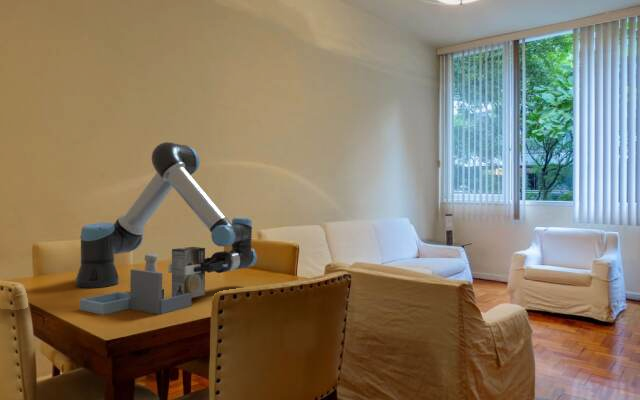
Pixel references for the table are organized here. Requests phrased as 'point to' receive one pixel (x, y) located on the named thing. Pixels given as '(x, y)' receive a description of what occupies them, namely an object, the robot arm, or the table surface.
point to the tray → (106, 303)
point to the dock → (153, 294)
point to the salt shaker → (150, 262)
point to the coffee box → (179, 280)
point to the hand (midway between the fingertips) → (177, 269)
